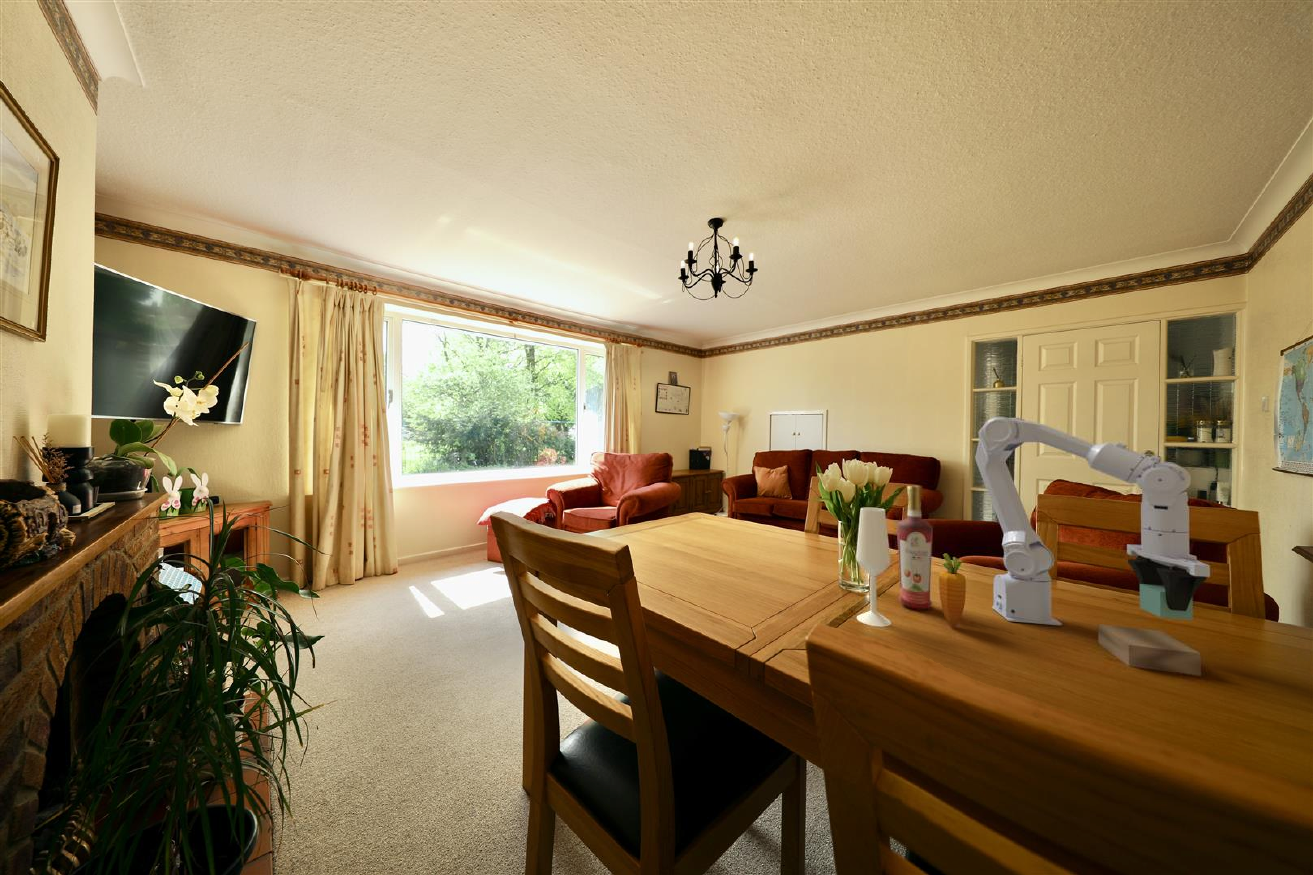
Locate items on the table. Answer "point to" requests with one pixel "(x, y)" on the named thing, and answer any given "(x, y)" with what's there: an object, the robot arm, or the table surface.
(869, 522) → the champagne flute
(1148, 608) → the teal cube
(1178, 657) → the walnut base block
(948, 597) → the carrot
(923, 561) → the liquor
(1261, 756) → the table surface
